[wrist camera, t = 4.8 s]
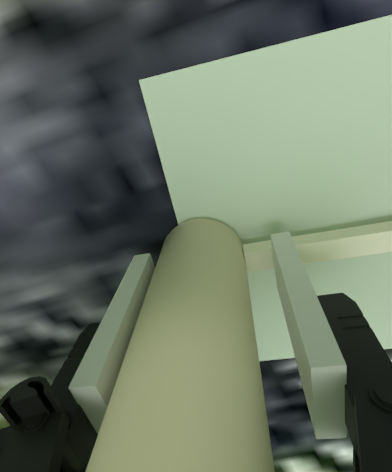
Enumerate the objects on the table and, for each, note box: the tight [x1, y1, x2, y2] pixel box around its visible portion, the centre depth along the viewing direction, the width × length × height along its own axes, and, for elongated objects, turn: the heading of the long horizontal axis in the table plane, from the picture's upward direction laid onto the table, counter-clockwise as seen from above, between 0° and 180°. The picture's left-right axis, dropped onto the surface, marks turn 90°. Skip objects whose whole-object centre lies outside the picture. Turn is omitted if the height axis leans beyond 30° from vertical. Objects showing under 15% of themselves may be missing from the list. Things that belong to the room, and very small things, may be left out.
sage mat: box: [139, 15, 392, 361], centre depth 14 cm, size 14×16×1 cm
